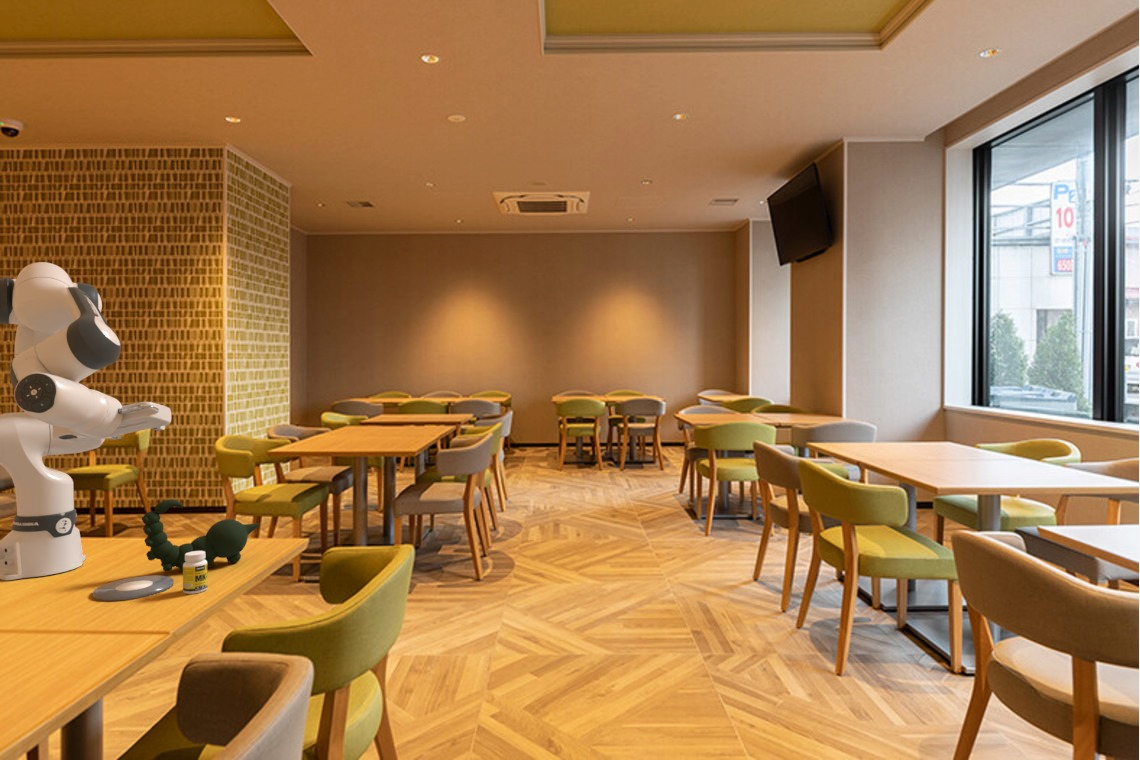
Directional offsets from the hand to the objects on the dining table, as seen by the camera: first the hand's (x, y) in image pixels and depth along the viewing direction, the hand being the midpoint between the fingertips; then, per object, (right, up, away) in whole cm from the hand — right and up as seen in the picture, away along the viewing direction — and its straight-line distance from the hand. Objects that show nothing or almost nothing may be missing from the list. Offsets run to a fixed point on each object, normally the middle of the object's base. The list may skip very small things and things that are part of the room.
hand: (140, 431), depth 147 cm
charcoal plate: (-3, -35, +2) cm, 36 cm away
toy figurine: (+4, -35, +18) cm, 40 cm away
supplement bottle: (+12, -36, +1) cm, 37 cm away
